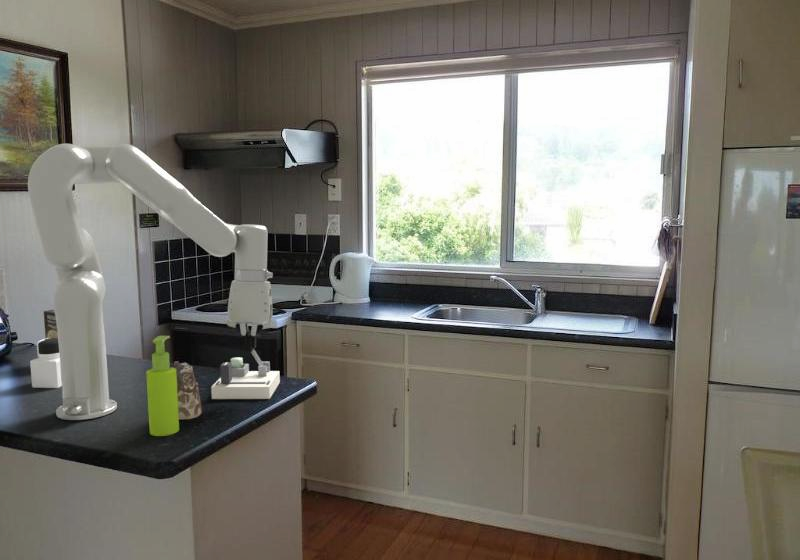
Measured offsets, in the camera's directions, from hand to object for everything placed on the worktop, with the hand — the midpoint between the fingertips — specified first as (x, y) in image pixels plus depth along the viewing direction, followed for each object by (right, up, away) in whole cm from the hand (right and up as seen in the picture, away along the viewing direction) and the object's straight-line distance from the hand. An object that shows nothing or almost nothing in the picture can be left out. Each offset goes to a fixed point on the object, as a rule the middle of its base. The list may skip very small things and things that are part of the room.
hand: (249, 350), depth 163 cm
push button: (-5, -6, +10) cm, 12 cm away
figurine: (-12, -13, -12) cm, 21 cm away
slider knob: (-6, -8, +1) cm, 10 cm away
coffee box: (-60, -8, +31) cm, 68 cm away
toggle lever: (+2, -6, +10) cm, 12 cm away
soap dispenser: (-13, -15, -22) cm, 29 cm away
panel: (-2, -11, +6) cm, 12 cm away
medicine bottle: (-54, -10, +12) cm, 56 cm away
